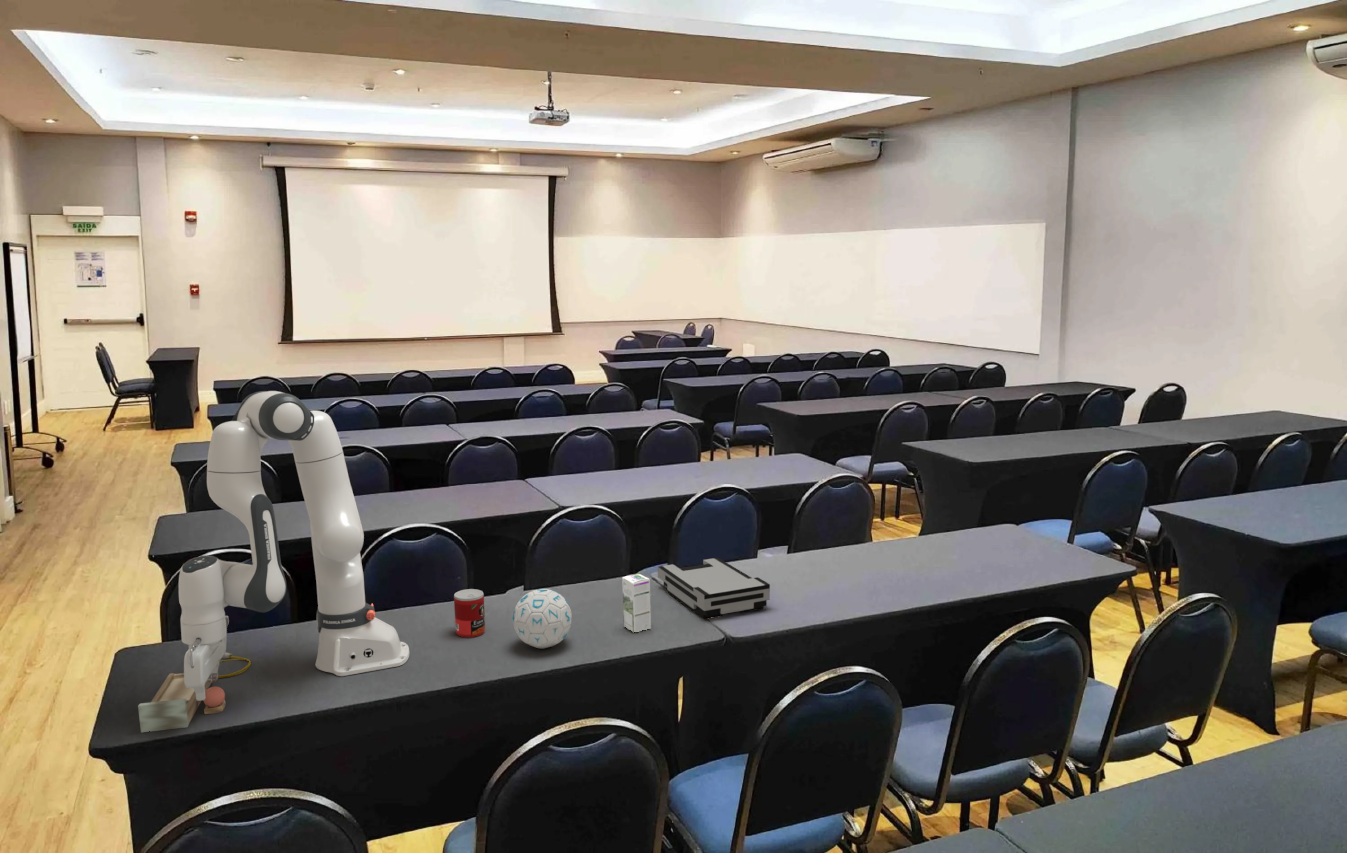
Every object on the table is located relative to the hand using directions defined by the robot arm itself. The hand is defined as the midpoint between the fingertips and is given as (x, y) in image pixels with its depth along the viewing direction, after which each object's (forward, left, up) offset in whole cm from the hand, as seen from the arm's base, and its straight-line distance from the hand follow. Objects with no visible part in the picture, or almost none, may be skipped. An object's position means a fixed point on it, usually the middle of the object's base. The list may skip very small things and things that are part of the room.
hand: (207, 689), depth 208 cm
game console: (-128, -39, -5) cm, 134 cm away
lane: (+7, -5, -5) cm, 10 cm away
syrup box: (-102, -22, -5) cm, 105 cm away
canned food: (-58, -31, -5) cm, 66 cm away
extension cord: (+2, -25, -5) cm, 25 cm away
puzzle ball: (-76, -17, -5) cm, 78 cm away
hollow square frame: (-1, 0, -5) cm, 5 cm away
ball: (-1, 0, -2) cm, 2 cm away
